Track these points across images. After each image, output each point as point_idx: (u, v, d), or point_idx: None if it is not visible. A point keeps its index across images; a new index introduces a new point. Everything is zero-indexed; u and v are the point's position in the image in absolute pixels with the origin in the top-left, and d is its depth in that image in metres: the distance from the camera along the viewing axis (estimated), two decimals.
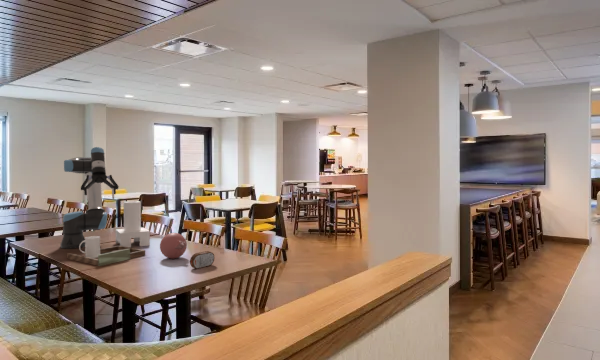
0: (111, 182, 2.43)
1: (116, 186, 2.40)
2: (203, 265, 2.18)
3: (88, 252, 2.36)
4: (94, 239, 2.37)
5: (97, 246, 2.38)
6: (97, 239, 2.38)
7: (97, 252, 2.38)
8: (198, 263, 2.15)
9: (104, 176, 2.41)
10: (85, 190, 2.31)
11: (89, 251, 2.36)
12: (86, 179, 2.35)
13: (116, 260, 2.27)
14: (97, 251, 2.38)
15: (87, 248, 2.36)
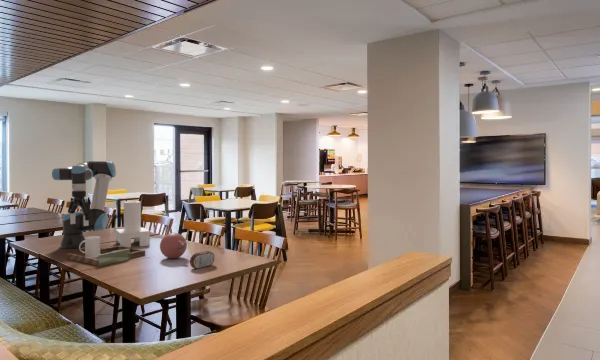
0: None
1: (86, 213, 2.38)
2: (203, 265, 2.18)
3: (88, 252, 2.36)
4: (94, 239, 2.37)
5: (97, 246, 2.38)
6: (97, 239, 2.38)
7: (97, 252, 2.38)
8: (198, 263, 2.15)
9: (80, 200, 2.41)
10: None
11: (89, 251, 2.36)
12: (70, 203, 2.46)
13: (116, 260, 2.27)
14: (97, 251, 2.38)
15: (87, 248, 2.36)
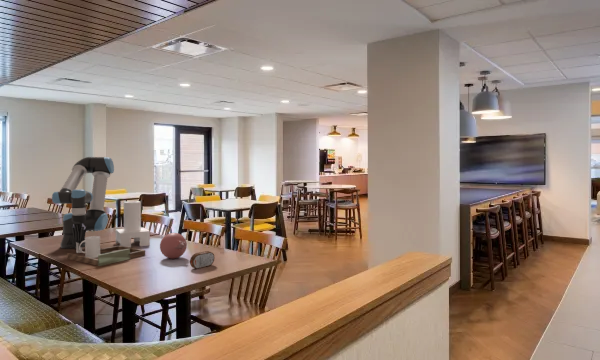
0: None
1: (79, 240, 2.42)
2: (203, 265, 2.18)
3: (88, 252, 2.36)
4: (94, 239, 2.37)
5: (97, 246, 2.38)
6: (97, 239, 2.38)
7: (97, 252, 2.38)
8: (198, 263, 2.15)
9: (79, 224, 2.41)
10: None
11: (89, 251, 2.36)
12: (72, 230, 2.45)
13: (116, 260, 2.27)
14: (97, 251, 2.38)
15: (87, 248, 2.36)
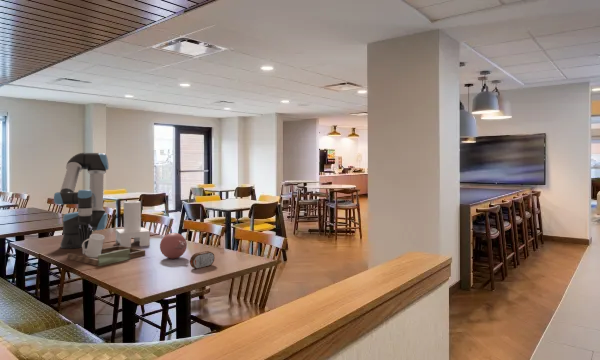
0: None
1: (86, 241, 2.38)
2: (203, 265, 2.18)
3: (89, 251, 2.35)
4: (98, 240, 2.35)
5: (99, 247, 2.37)
6: (101, 240, 2.37)
7: (98, 252, 2.38)
8: (198, 263, 2.15)
9: (86, 225, 2.38)
10: None
11: (90, 250, 2.35)
12: (78, 231, 2.42)
13: (116, 260, 2.27)
14: (98, 251, 2.38)
15: (89, 247, 2.35)
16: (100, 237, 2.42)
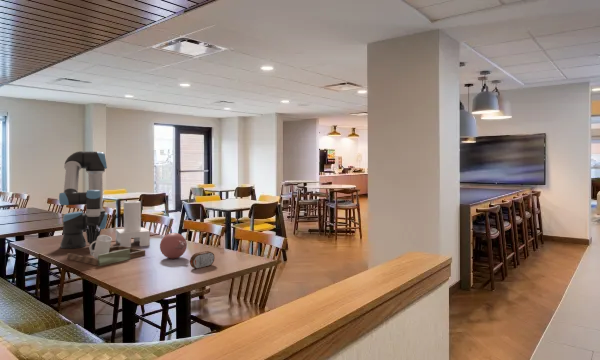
0: None
1: None
2: (203, 265, 2.18)
3: (97, 253, 2.31)
4: (106, 242, 2.31)
5: (107, 249, 2.33)
6: (109, 242, 2.32)
7: None
8: (198, 263, 2.15)
9: (94, 225, 2.34)
10: None
11: (98, 252, 2.31)
12: (86, 231, 2.37)
13: (116, 260, 2.27)
14: None
15: (97, 249, 2.31)
16: (107, 238, 2.37)
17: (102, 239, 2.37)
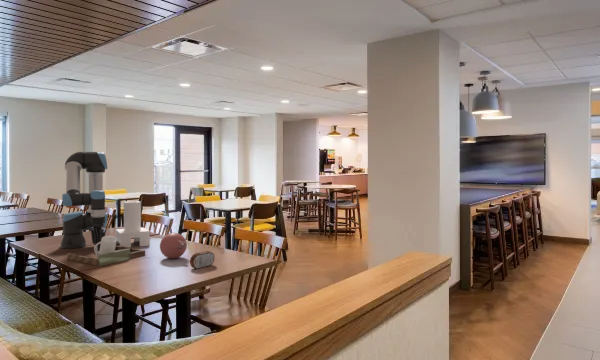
0: None
1: None
2: (203, 265, 2.18)
3: None
4: (110, 243, 2.28)
5: (112, 250, 2.31)
6: (113, 243, 2.30)
7: None
8: (198, 263, 2.15)
9: (99, 226, 2.31)
10: None
11: (103, 253, 2.29)
12: (91, 232, 2.35)
13: (116, 260, 2.27)
14: None
15: (102, 250, 2.28)
16: (112, 239, 2.34)
17: (107, 240, 2.34)
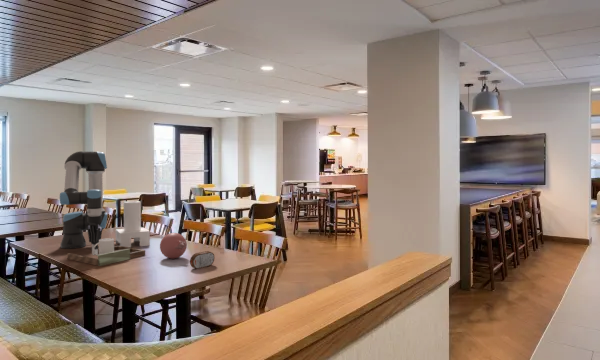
0: None
1: (95, 241, 2.34)
2: (203, 265, 2.18)
3: None
4: (108, 241, 2.30)
5: (111, 249, 2.31)
6: (111, 241, 2.31)
7: None
8: (198, 263, 2.15)
9: (95, 225, 2.34)
10: (92, 244, 2.36)
11: None
12: (88, 231, 2.37)
13: (116, 260, 2.27)
14: None
15: (101, 251, 2.29)
16: None
17: None
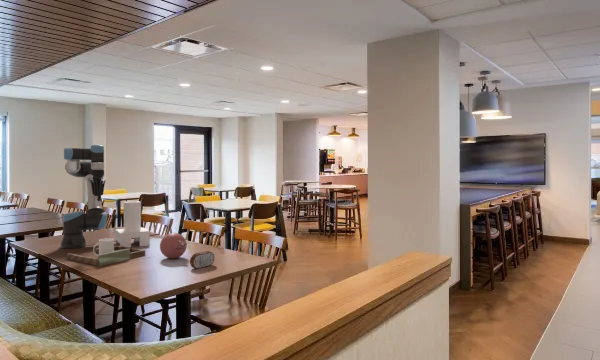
0: None
1: (98, 193, 2.51)
2: (203, 265, 2.18)
3: None
4: (108, 241, 2.30)
5: (111, 249, 2.31)
6: (111, 241, 2.31)
7: None
8: (198, 263, 2.15)
9: (98, 178, 2.50)
10: None
11: None
12: (91, 184, 2.54)
13: (116, 260, 2.27)
14: None
15: (101, 251, 2.29)
16: None
17: None
